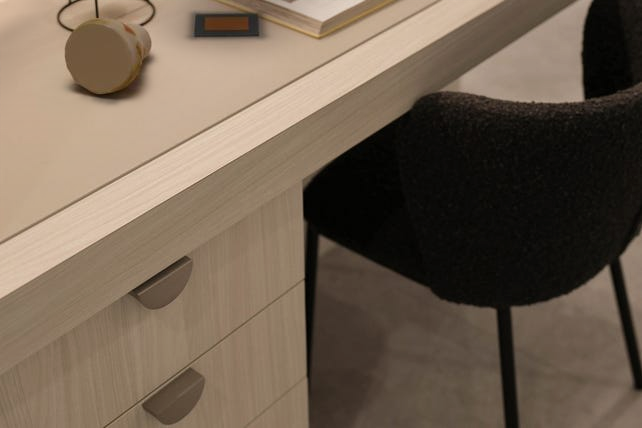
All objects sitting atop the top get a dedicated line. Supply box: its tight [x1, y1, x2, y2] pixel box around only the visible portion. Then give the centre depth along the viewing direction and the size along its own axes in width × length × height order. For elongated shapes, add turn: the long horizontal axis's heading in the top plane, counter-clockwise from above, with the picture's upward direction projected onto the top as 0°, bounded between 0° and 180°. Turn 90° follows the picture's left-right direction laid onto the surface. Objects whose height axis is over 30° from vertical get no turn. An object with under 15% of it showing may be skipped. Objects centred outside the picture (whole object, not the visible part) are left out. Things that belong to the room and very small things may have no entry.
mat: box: [193, 13, 260, 38], centre depth 96 cm, size 7×5×1 cm
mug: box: [64, 17, 153, 95], centre depth 85 cm, size 8×10×10 cm
